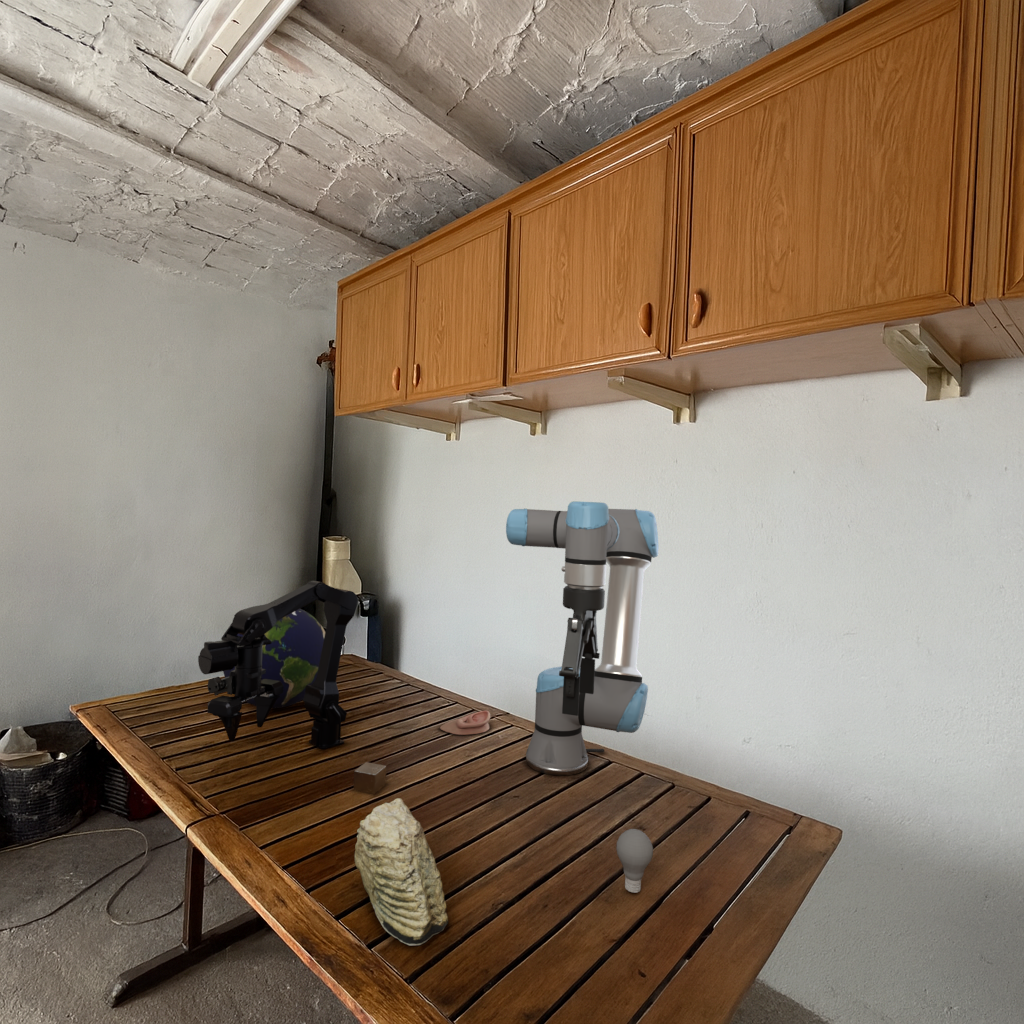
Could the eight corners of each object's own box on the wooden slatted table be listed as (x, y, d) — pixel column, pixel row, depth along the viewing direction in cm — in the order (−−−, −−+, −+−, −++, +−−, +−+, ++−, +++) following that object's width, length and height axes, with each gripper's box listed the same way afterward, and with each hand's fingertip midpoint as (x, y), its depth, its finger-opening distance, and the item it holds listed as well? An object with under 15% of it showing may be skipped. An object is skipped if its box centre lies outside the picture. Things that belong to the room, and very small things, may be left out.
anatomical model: (436, 717, 173) (449, 704, 184) (436, 732, 173) (448, 718, 184) (483, 723, 170) (493, 709, 181) (483, 738, 170) (493, 723, 181)
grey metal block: (365, 780, 142) (366, 761, 142) (385, 784, 141) (386, 765, 141) (353, 790, 137) (354, 770, 137) (374, 794, 136) (375, 774, 136)
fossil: (387, 871, 108) (391, 784, 108) (458, 926, 95) (462, 827, 95) (340, 893, 102) (344, 800, 101) (410, 955, 89) (414, 849, 88)
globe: (289, 685, 209) (292, 594, 208) (348, 705, 191) (352, 606, 191) (199, 706, 185) (203, 604, 184) (258, 732, 167) (262, 619, 167)
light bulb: (610, 879, 108) (613, 822, 108) (644, 879, 109) (647, 822, 109) (619, 902, 102) (622, 840, 102) (655, 901, 103) (658, 840, 103)
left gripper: (247, 652, 156) (244, 715, 156) (188, 671, 138) (185, 742, 138) (285, 658, 152) (283, 722, 153) (230, 678, 135) (227, 750, 135)
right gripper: (578, 578, 128) (573, 682, 128) (546, 592, 104) (540, 721, 105) (615, 581, 126) (610, 687, 126) (591, 597, 102) (585, 728, 102)
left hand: (246, 733), depth 145 cm, fingers open, 9 cm apart
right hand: (578, 703), depth 115 cm, fingers open, 13 cm apart
